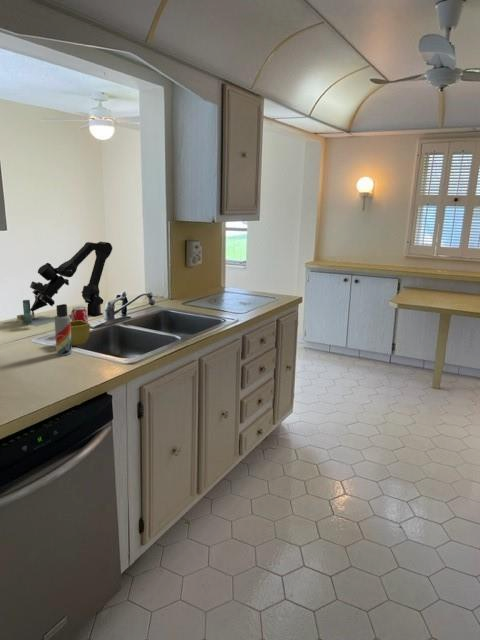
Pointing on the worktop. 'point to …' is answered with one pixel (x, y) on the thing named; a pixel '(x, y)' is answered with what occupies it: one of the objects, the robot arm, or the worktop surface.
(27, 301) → the gate
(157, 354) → the worktop surface
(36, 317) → the post on square base
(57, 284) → the robot arm
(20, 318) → the block
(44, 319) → the yard mat
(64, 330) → the lotion bottle
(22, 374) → the worktop surface
